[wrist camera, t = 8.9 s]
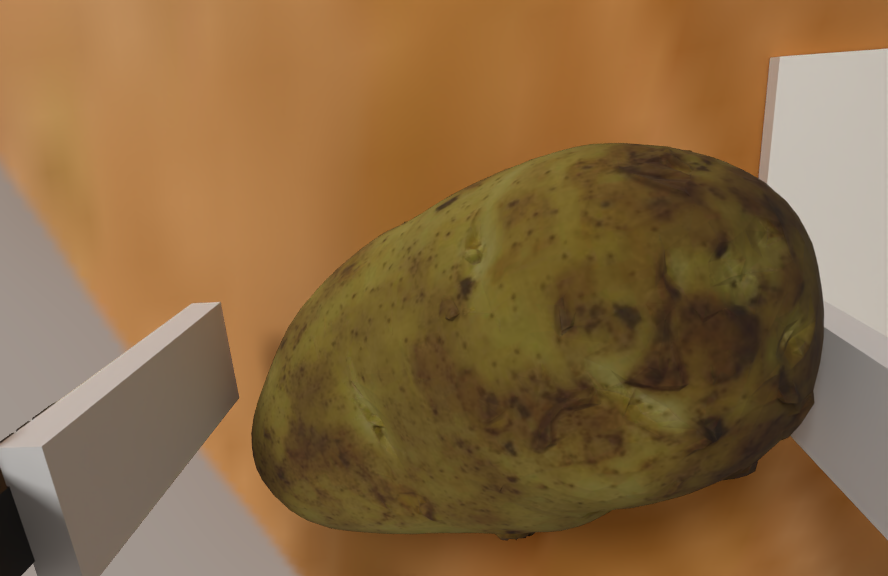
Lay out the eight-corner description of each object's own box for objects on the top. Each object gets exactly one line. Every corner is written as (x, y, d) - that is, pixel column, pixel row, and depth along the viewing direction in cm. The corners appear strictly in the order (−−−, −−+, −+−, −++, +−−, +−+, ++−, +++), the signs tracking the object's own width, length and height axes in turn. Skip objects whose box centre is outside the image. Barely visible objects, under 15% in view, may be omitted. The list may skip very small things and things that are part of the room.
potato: (219, 215, 17) (4, 321, 9) (687, 96, 15) (905, 101, 7) (312, 464, 19) (204, 711, 11) (723, 384, 17) (914, 609, 10)
